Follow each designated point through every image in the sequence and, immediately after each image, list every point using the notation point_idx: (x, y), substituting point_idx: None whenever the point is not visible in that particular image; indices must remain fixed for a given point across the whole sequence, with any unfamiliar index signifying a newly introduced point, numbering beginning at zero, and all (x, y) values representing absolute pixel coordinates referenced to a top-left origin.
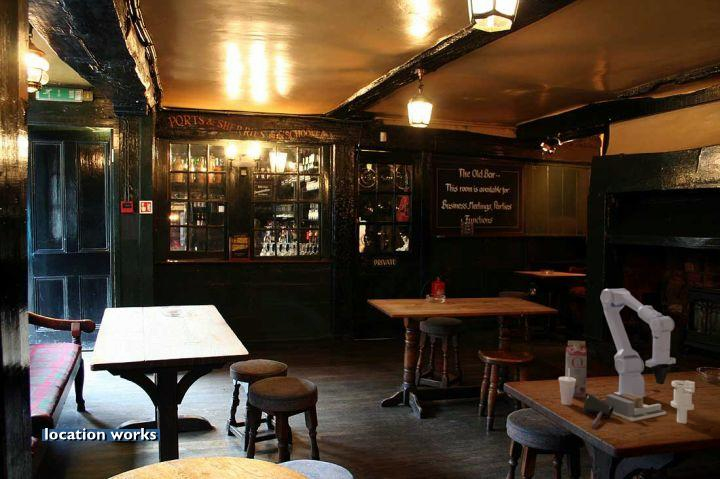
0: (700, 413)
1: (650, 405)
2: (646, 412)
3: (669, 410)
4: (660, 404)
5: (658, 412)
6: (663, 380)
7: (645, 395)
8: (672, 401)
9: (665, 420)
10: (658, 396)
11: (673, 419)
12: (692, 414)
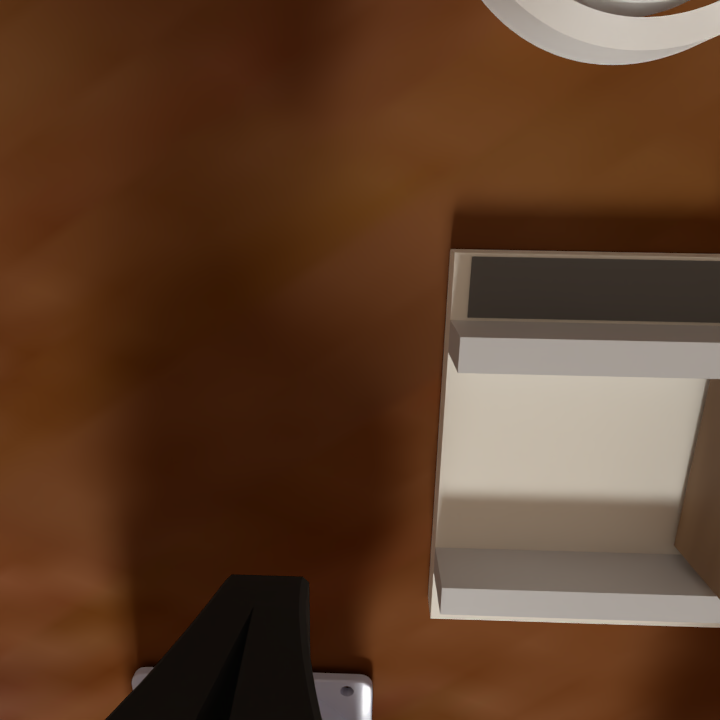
0: (7, 75)
1: (633, 370)
2: (716, 327)
3: (283, 313)
4: (468, 338)
5: (582, 264)
6: (238, 631)
7: (143, 675)
8: (716, 7)
9: (671, 103)
10: (4, 623)
11: (544, 81)
12: (141, 97)
